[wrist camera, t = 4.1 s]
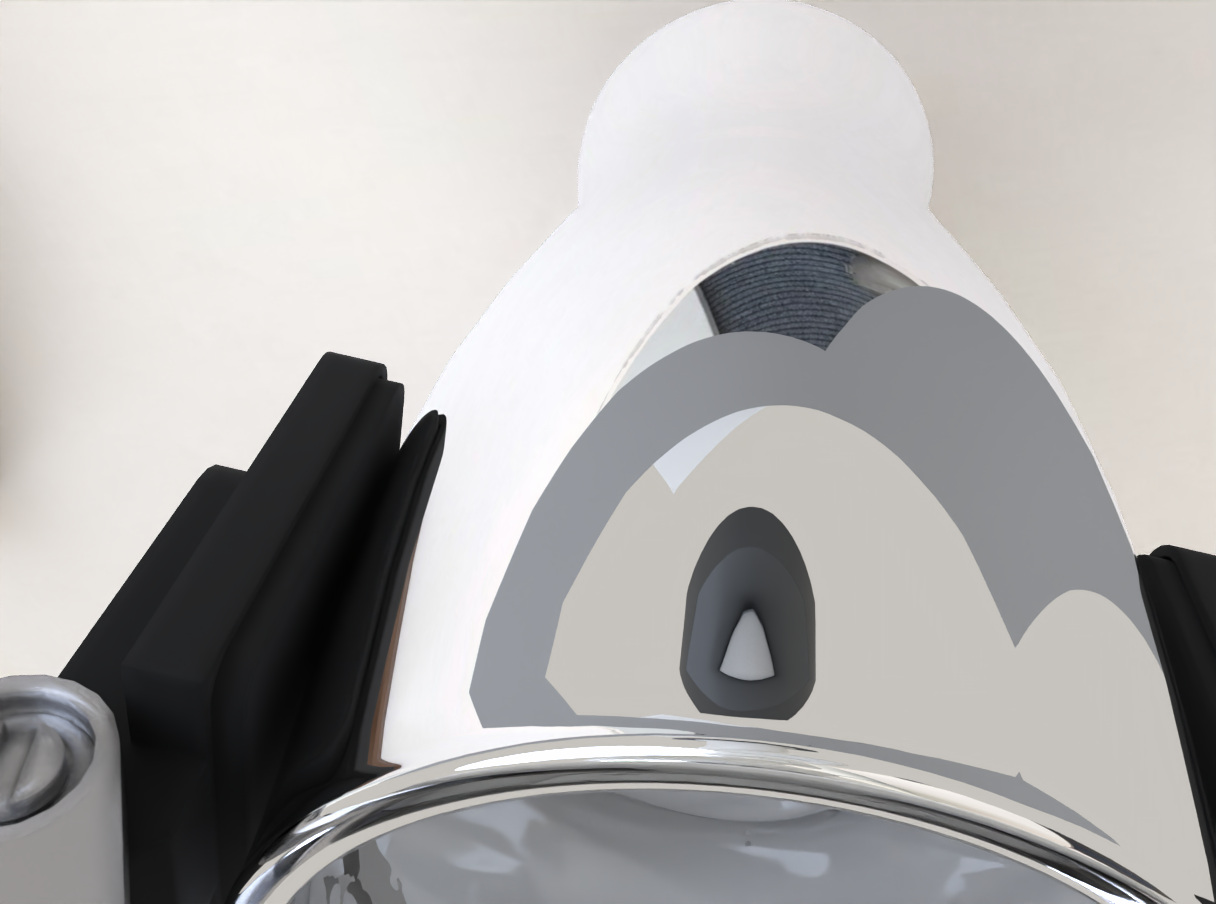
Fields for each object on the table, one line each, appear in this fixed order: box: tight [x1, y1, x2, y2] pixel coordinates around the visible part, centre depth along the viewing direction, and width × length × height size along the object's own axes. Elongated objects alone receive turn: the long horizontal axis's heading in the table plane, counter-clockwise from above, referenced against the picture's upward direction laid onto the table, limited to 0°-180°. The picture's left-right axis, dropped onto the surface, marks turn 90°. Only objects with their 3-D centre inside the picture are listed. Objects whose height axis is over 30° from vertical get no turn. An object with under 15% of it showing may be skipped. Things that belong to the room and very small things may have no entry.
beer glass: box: [224, 0, 1216, 904], centre depth 13 cm, size 7×7×15 cm
